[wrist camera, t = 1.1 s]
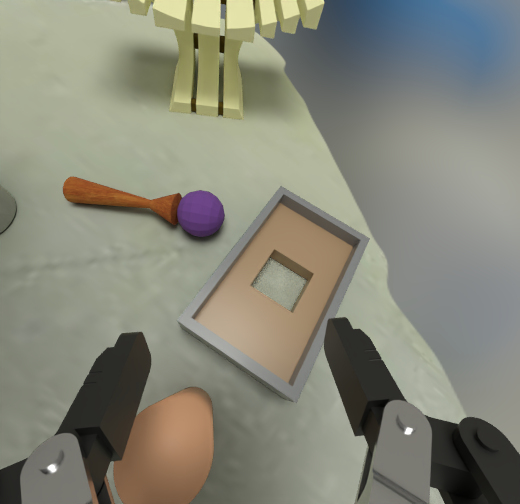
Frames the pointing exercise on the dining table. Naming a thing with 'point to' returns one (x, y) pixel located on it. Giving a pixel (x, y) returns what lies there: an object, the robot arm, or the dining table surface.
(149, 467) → the peg
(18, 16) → the dining table surface
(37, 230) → the dining table surface
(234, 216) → the dining table surface
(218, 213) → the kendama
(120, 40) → the dining table surface
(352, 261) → the peg box
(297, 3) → the slatted curved stool
